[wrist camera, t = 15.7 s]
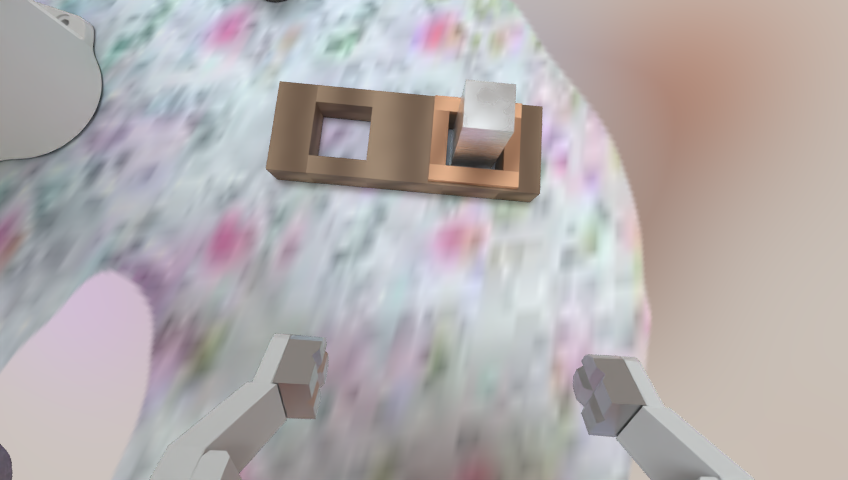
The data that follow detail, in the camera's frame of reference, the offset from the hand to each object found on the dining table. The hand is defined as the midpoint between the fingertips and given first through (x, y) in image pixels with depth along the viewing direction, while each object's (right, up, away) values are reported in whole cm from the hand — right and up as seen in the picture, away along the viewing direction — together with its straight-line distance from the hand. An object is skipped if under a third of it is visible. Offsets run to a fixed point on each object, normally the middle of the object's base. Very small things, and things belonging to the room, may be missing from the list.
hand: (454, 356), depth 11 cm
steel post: (+4, +13, +27) cm, 30 cm away
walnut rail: (-3, +13, +26) cm, 30 cm away
